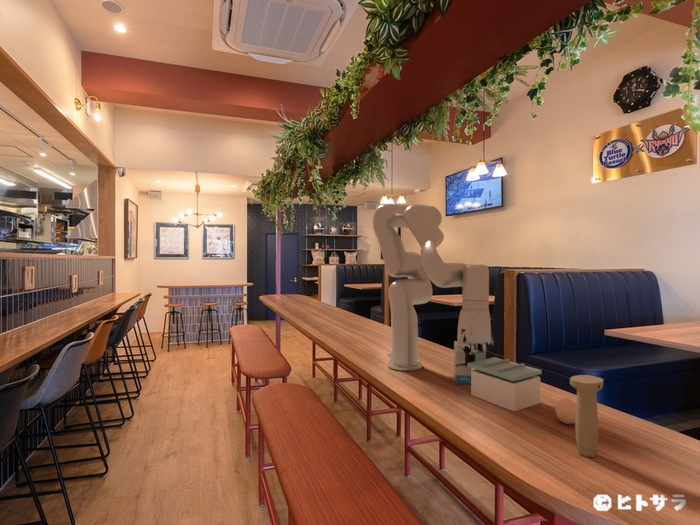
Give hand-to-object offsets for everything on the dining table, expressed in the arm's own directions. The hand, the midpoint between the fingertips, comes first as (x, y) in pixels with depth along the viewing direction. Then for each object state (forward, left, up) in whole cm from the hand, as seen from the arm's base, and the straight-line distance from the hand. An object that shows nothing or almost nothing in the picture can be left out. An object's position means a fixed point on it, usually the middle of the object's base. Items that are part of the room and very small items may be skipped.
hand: (474, 365), depth 115 cm
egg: (+28, -1, -7) cm, 29 cm away
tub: (+10, 0, -7) cm, 12 cm away
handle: (+38, -12, -7) cm, 41 cm away
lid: (+8, 0, +1) cm, 8 cm away
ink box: (-8, +3, -7) cm, 11 cm away
